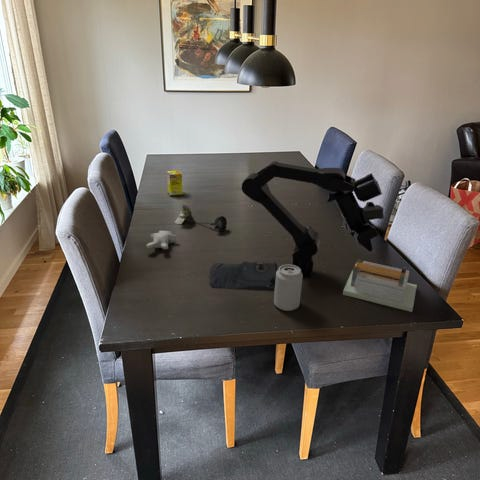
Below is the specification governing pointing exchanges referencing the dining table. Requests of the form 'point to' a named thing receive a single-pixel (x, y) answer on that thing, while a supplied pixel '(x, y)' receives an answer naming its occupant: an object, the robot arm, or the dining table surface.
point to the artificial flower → (187, 215)
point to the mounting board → (404, 305)
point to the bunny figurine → (162, 239)
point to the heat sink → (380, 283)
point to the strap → (379, 270)
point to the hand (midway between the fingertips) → (370, 250)
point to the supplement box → (174, 183)
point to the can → (288, 287)
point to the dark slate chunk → (243, 276)
